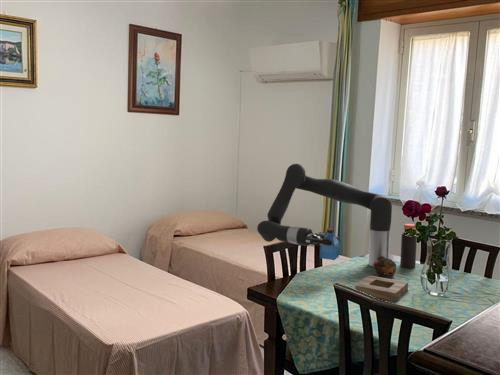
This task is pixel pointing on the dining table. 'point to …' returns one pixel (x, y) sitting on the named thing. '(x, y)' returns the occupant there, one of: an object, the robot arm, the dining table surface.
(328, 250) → the perfume bottle
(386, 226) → the robot arm
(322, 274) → the dining table surface
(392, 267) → the decorative turtle
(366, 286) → the walnut hole block
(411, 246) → the vinegar
